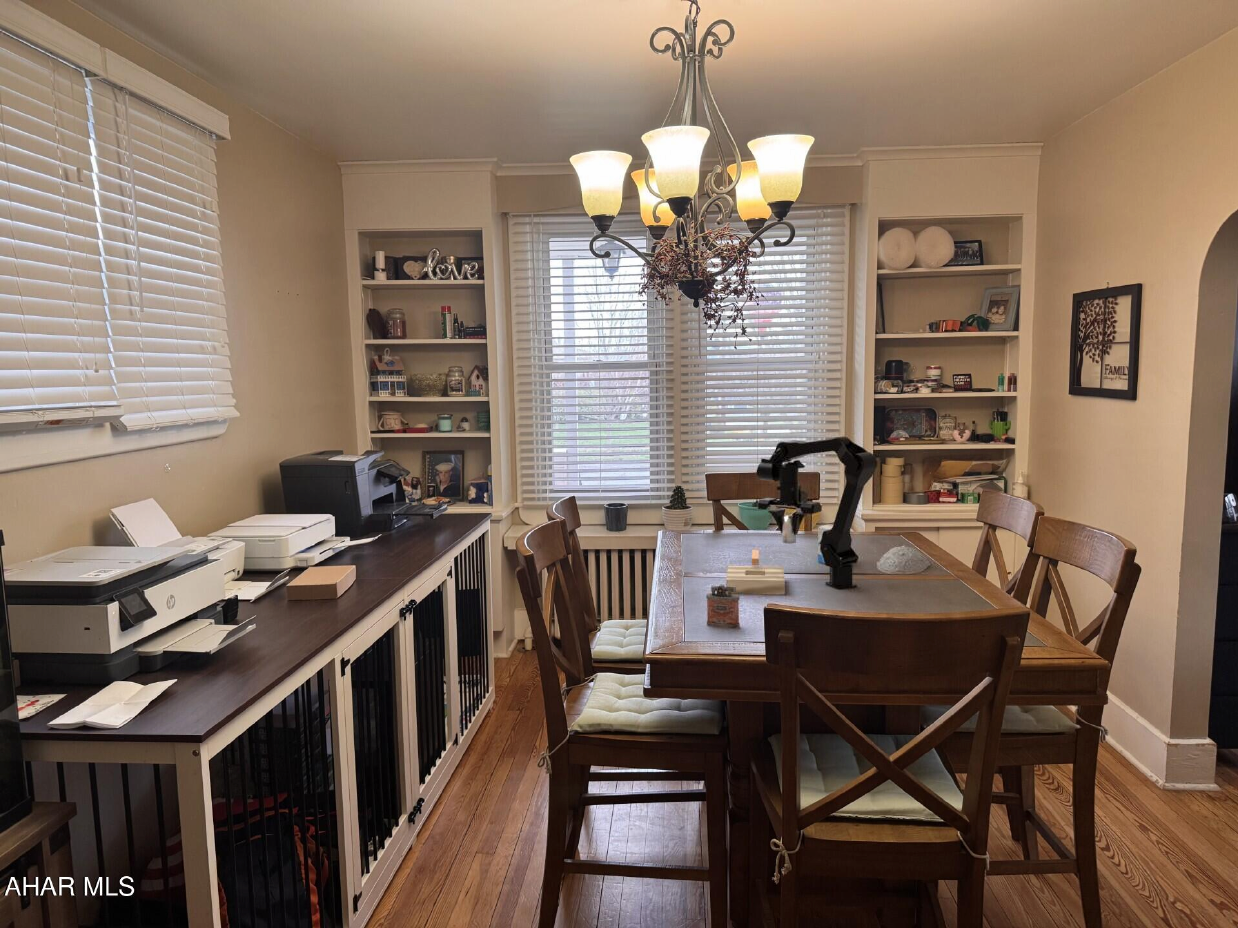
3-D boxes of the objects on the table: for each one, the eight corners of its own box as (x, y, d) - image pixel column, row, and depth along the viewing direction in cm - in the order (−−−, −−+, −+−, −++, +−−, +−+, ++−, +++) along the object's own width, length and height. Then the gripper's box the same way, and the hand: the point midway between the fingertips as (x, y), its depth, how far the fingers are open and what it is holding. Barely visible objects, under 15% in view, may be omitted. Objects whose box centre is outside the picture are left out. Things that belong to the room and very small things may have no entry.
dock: (784, 594, 217) (784, 580, 217) (726, 593, 220) (726, 579, 220) (782, 579, 233) (782, 566, 233) (728, 578, 236) (728, 565, 235)
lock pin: (758, 565, 234) (758, 558, 234) (751, 565, 234) (751, 558, 234) (758, 556, 246) (758, 549, 245) (752, 556, 246) (752, 549, 246)
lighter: (705, 626, 192) (704, 586, 191) (708, 622, 195) (708, 582, 194) (737, 629, 189) (737, 588, 188) (740, 624, 192) (740, 584, 191)
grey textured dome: (933, 557, 254) (931, 537, 254) (925, 580, 232) (922, 557, 232) (883, 558, 262) (881, 539, 261) (871, 580, 240) (868, 559, 239)
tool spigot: (798, 542, 237) (798, 516, 236) (787, 544, 235) (786, 517, 235) (791, 540, 240) (791, 514, 240) (779, 541, 239) (779, 515, 238)
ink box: (827, 565, 249) (827, 528, 248) (817, 562, 254) (817, 526, 252) (849, 562, 252) (849, 525, 251) (838, 559, 257) (838, 523, 256)
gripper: (829, 481, 236) (830, 532, 238) (774, 477, 248) (775, 526, 250) (812, 485, 228) (812, 539, 229) (756, 481, 240) (756, 532, 241)
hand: (789, 533), depth 238 cm, fingers closed on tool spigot, 4 cm apart
